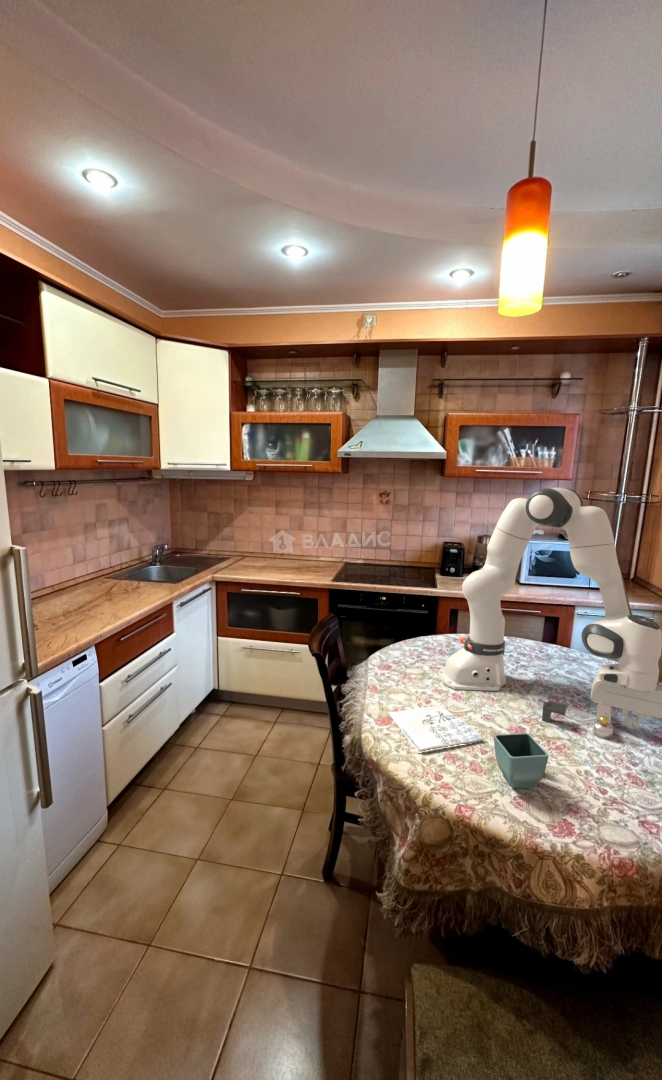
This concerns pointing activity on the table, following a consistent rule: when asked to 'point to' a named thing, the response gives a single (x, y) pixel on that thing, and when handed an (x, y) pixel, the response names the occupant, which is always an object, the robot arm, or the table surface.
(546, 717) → the pintle base
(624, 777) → the table surface
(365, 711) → the table surface
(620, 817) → the table surface
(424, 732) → the white illustrated notebook
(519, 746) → the flower pot
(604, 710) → the link
